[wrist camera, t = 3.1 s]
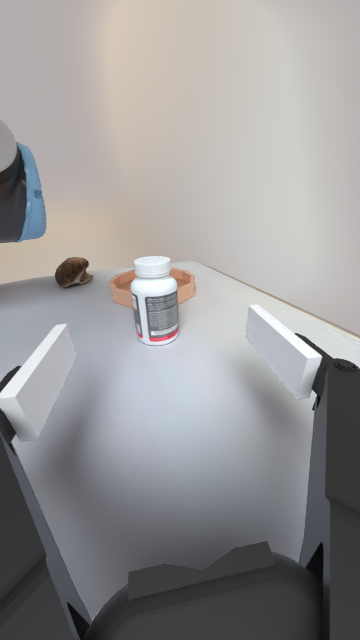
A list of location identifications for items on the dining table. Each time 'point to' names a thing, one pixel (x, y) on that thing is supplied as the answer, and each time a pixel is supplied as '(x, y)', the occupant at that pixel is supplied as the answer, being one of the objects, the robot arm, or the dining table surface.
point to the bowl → (122, 282)
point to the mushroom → (72, 272)
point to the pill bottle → (155, 301)
